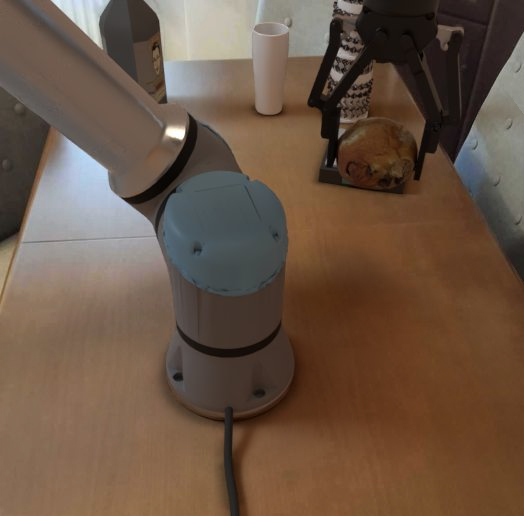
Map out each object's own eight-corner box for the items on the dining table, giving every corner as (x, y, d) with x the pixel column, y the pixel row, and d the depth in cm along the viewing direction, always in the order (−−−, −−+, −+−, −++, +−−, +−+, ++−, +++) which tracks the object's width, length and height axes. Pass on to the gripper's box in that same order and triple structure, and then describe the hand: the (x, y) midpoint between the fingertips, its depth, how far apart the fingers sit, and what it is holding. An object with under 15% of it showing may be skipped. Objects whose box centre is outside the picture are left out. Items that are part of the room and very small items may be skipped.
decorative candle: (314, 106, 119) (327, -38, 101) (355, 99, 122) (374, -43, 103) (336, 127, 114) (353, -22, 95) (378, 119, 116) (402, -28, 98)
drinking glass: (246, 105, 119) (245, 24, 108) (276, 99, 121) (279, 19, 110) (260, 120, 115) (261, 38, 104) (291, 114, 117) (296, 32, 106)
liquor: (109, 117, 115) (76, -70, 93) (129, 96, 121) (103, -83, 99) (152, 124, 113) (130, -64, 91) (171, 103, 119) (154, -78, 97)
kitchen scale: (401, 195, 98) (405, 179, 96) (317, 183, 100) (319, 166, 98) (408, 152, 108) (411, 136, 106) (331, 141, 110) (333, 126, 108)
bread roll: (408, 184, 79) (417, 119, 76) (417, 194, 69) (429, 120, 66) (333, 178, 80) (339, 113, 77) (332, 187, 70) (340, 114, 67)
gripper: (527, -40, 58) (468, 166, 75) (301, -58, 62) (292, 141, 79) (529, -15, 53) (465, 199, 70) (284, -37, 57) (278, 170, 74)
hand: (373, 168), depth 74 cm, fingers closed on bread roll, 10 cm apart
